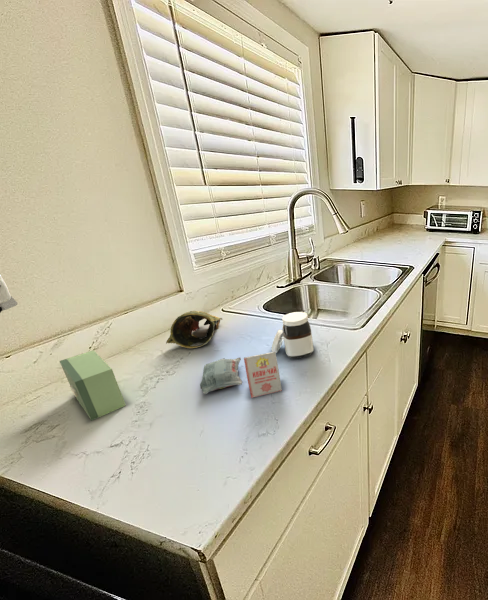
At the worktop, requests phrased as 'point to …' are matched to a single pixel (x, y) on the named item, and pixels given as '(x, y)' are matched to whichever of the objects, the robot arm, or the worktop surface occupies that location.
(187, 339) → the pot
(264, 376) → the cream red carton
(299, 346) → the spread jar
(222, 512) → the worktop surface
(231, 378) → the packaged food
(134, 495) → the worktop surface
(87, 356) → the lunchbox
